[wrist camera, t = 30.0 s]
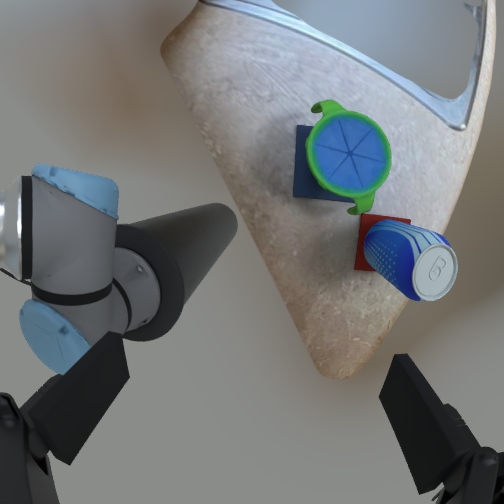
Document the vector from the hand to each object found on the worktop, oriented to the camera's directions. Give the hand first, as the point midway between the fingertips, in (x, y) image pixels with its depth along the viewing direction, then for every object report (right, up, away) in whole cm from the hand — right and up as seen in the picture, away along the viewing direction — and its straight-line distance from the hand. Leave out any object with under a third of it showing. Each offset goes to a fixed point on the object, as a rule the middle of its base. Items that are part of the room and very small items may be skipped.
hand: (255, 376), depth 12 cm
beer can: (+21, +7, +29) cm, 37 cm away
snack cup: (+12, +19, +27) cm, 35 cm away
